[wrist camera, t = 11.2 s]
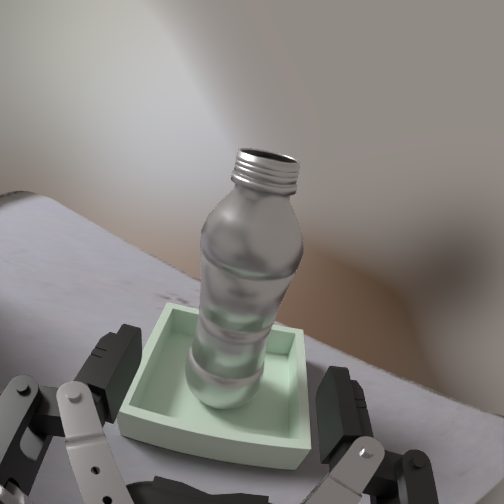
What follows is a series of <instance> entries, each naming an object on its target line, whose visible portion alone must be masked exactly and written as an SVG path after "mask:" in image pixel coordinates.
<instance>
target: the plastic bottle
mask: <svg viewBox="0 0 504 504" xmlns="http://www.w3.org/2000/svg"><path fill="white" fill-rule="evenodd" d="M299 169H300V162H299V161H298V160H296V159H294V158H291V157H289V156H285V155H282V154H279V153H274V152H270V151H265V150H259V149H252V148H240V149H238V152H237V156H236V163H235V168H234V170H233V171H232V176H231V180H232V181H233V182H234V183H235V187H234V189H233V190H232V191H231V192H230V193H229V194H228V195H227V196H226V197H225V198H224V199H223V200H221V202H219V204H218V205H217V206H216V207H215V208H214V209H213V210H212V212H211V213H210V214H209V215H208V217H207V219H206V221H205V223H204V225H203V227H202V230H201V241H200V248H201V249H200V257H201V289H200V305H199V316H198V320H197V325H196V329H195V333H194V338H193V342H192V344H191V346H190V348H189V351H188V354H187V358H186V361H185V375H186V381H187V385H188V387H189V389H190V391H191V392H192V393H193V394H194V396H195V397H197V398H198V399H199V400H200V401H202V402H203V403H205V404H206V405H208V406H211V407H213V408H218V409H234V408H238V407H241V406H244V405H245V404H247V403H249V402H250V401H251V400H252V399H253V397H254V396H255V394H256V393H257V392H258V390H259V389H260V387H261V385H262V382H263V376H264V360H265V354H266V349H267V344H268V339H269V334H270V331H271V328H272V325H273V322H274V320H275V317H276V314H277V312H278V309H279V307H280V304H281V302H282V300H283V298H284V296H285V294H286V292H287V289H288V287H289V285H290V283H291V281H292V279H293V277H294V275H295V273H296V270H297V269H298V267H299V264H300V261H301V259H302V256H303V253H304V245H303V235H302V232H301V228H300V225H299V222H298V219H297V217H296V215H295V213H294V210H293V208H292V206H291V204H290V195H294V194H295V193H296V190H297V184H296V183H297V178H298V173H299Z"/></svg>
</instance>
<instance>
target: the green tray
mask: <svg viewBox="0 0 504 504" xmlns="http://www.w3.org/2000/svg"><path fill="white" fill-rule="evenodd" d="M198 316H199V309H195V308H190V307H186V306H182V305H178V304H173V303H169V302H167V304H166V306H165V308H164V310H163V312H162V314H161V315H160V317H159V319H158V321H157V323H156V325H155V327H154V329H153V331H152V333H151V335H150V337H149V339H148V341H147V343H146V345H145V347H144V349H143V351H142V359H141V363H140V366H139V369H138V371H137V373H136V375H135V377H134V379H133V382H132V384H131V386H130V388H129V390H128V392H127V395H126V397H125V399H124V401H123V403H122V406H121V408H120V410H119V412H118V415H117V417H116V418H117V422H118V426H119V430H120V434H121V435H123V436H126V437H129V438H132V439H135V440H138V441H141V442H145V443H148V444H151V445H155V446H158V447H162V448H166V449H170V450H174V451H178V452H182V453H186V454H190V455H195V456H199V457H204V458H209V459H214V460H220V461H225V462H231V463H237V464H244V465H251V466H259V467H267V468H277V469H288V470H296V469H297V467H298V466H299V465H300V463H301V462H302V461H303V460H304V458H305V457H306V456H307V454H308V453H309V451H310V450H311V437H310V419H309V403H308V387H307V374H306V360H305V348H304V336H303V330H300V329H295V328H289V327H283V326H278V325H272V328H271V331H270V334H269V339H268V344H267V349H266V354H265V360H264V376H263V382H262V385H261V387H260V389H259V390H258V392H257V393H256V394H255V396H254V397H253V399H252V400H251V401H250V402H249V403H247V404H245V405H244V406H241V407H238V408H234V409H218V408H213V407H211V406H208V405H206V404H205V403H203V402H202V401H200V400H199V399H198V398H197V397H195V396H194V394H193V393H192V392H191V391H190V389H189V387H188V385H187V381H186V375H185V361H186V358H187V354H188V351H189V348H190V346H191V344H192V342H193V338H194V333H195V329H196V325H197V320H198Z"/></svg>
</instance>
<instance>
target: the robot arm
mask: <svg viewBox="0 0 504 504" xmlns="http://www.w3.org/2000/svg"><path fill="white" fill-rule="evenodd" d="M141 359H142V338H141V329H140V328H138V327H134V326H131V325H127V324H123V325H122V326H121V328H120V329H119V331H118V332H117V334H115V333H112V332H109V333H108V334H106V335H105V336H103V337H102V338H101V339H100V340H99V342H98V343H97V345H96V346H95V348H94V349H93V351H92V352H91V355H90V356H89V357H88V359H87V360H86V362H85V363H84V365H83V367H82V368H81V370H80V371H79V373H78V375H77V376H76V378H75V379H74V380H73V381H69V382H66V383H64V384H62V385H61V386H60V387H59V388H54V387H45V386H38V384H37V382H36V380H35V379H34V378H33V377H31V376H29V375H18V376H16V377H14V378H13V379H11V380H10V382H9V383H8V385H7V386H6V388H5V389H4V391H3V393H2V394H1V396H0V504H33V502H32V500H31V499H30V498H29V497H28V496H29V493H30V491H31V488H32V485H33V483H34V480H35V478H36V475H37V473H38V470H39V468H40V465H41V463H42V461H43V458H44V456H45V454H46V451H47V449H48V447H49V444H50V442H51V440H52V438H53V436H61V437H66V441H65V444H66V449H67V452H68V456H69V459H70V462H71V466H72V469H73V472H74V475H75V478H76V481H77V484H78V487H79V490H80V493H81V495H82V498H83V501H84V503H85V504H272V503H269V502H268V498H269V496H262V495H252V494H244V493H236V494H220V495H211V494H207V493H205V492H202V491H200V490H198V489H195V488H193V487H191V486H189V485H187V484H184V483H182V482H178V481H174V480H170V479H166V478H162V477H158V476H155V477H154V480H153V481H144V482H136V483H132V484H129V485H126V486H125V483H124V481H123V479H122V477H121V474H120V472H119V470H118V467H117V465H116V462H115V460H114V457H113V455H112V452H111V450H110V447H109V445H108V442H107V439H106V437H105V434H104V431H103V429H102V428H103V426H104V424H105V421H106V422H109V423H112V424H114V421H115V419H116V417H117V415H118V412H119V410H120V408H121V406H122V403H123V401H124V399H125V397H126V395H127V392H128V390H129V388H130V386H131V384H132V382H133V379H134V377H135V375H136V373H137V371H138V369H139V366H140V363H141ZM316 409H317V421H318V433H319V446H320V460H321V464H329V465H330V470H329V471H328V472H327V474H326V475H325V476H324V477H323V478H322V480H321V481H320V482H319V483H318V484H317V486H316V487H315V488H314V489H313V490H312V491H311V492H310V494H309V495H308V496H307V497H306V498H305V499H304V500H303V501H302V502H301V503H300V504H358V503H359V501H360V500H361V498H362V495H361V493H364V494H368V495H370V502H371V504H439V502H438V497H437V491H436V486H435V481H434V476H433V472H432V467H431V463H430V460H429V458H428V456H427V455H426V454H425V453H424V452H422V451H420V450H409V451H407V452H406V453H405V454H404V455H400V454H397V453H393V452H389V451H386V450H384V448H383V446H382V444H381V443H380V442H379V441H378V440H376V439H375V438H374V437H373V433H372V428H371V423H370V419H369V414H368V410H367V405H366V401H365V397H364V392H363V389H362V388H361V386H360V385H359V383H358V382H357V381H356V380H351V379H350V375H349V370H348V368H345V367H336V366H330V367H329V368H328V370H327V372H326V374H325V376H324V378H323V380H322V382H321V384H320V386H319V388H318V390H317V394H316Z"/></svg>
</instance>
